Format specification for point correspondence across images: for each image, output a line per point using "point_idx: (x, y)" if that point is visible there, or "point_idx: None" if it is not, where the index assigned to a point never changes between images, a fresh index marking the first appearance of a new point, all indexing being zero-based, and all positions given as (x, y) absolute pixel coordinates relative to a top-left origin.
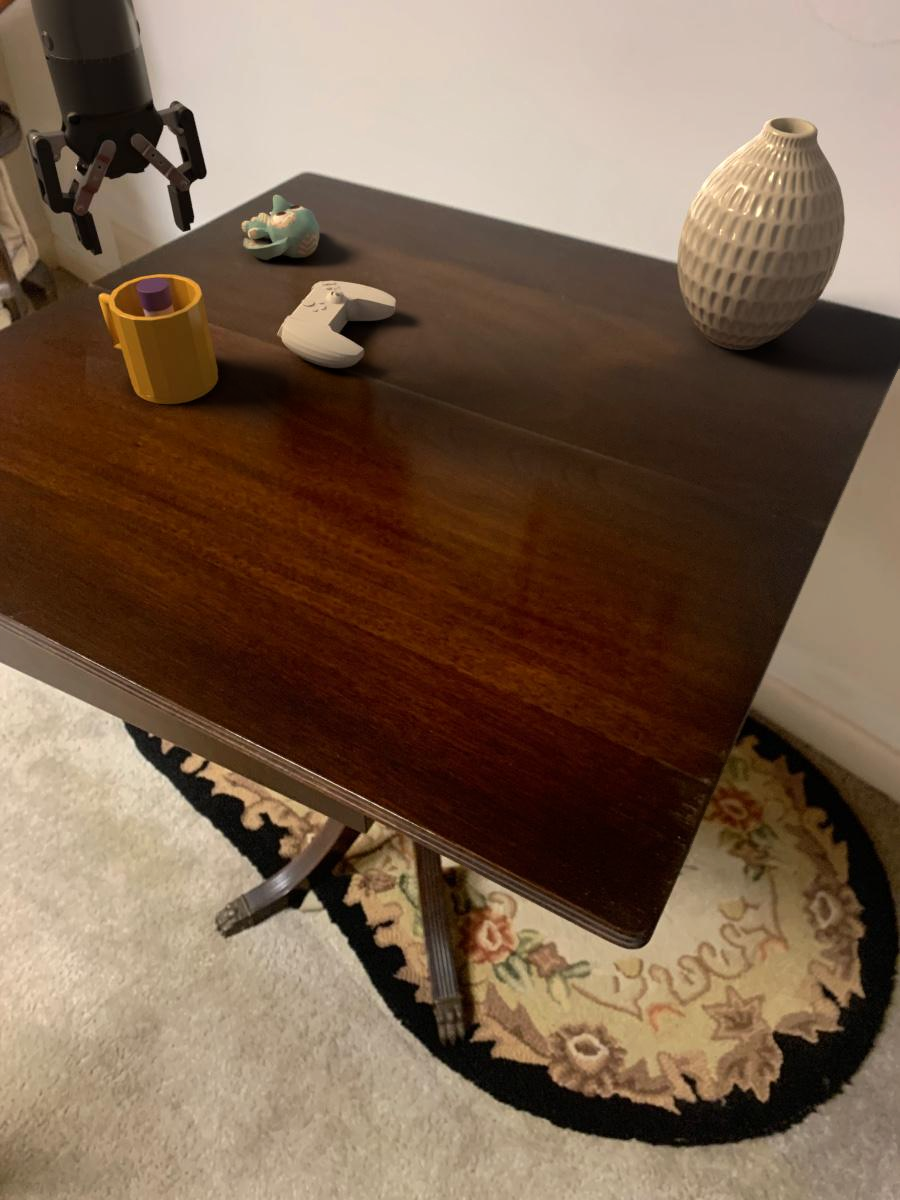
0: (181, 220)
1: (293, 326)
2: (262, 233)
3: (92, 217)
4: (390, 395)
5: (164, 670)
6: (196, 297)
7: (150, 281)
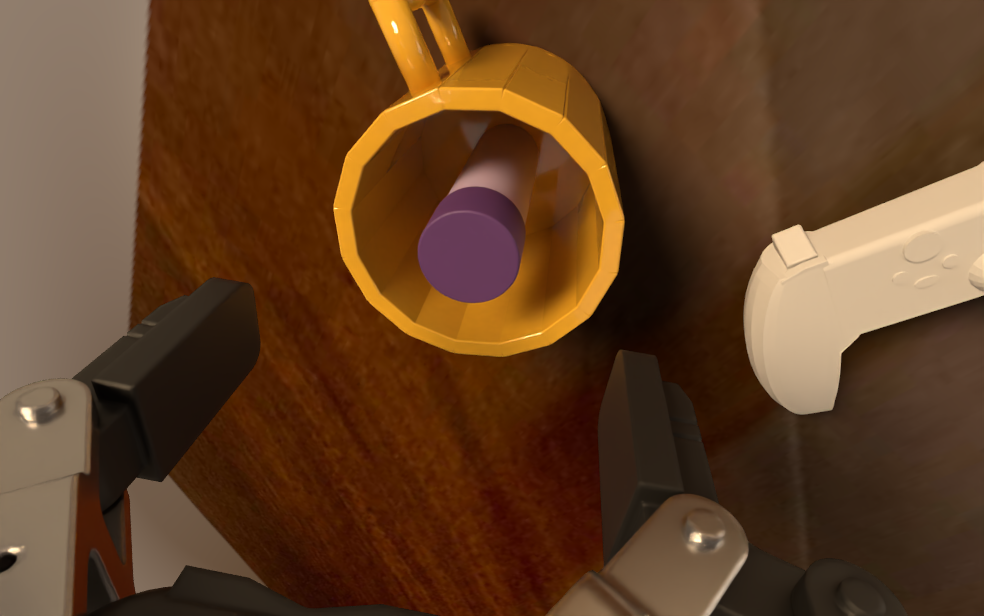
0: (600, 451)
1: (790, 302)
2: None
3: (168, 470)
4: (765, 450)
5: (251, 548)
6: (563, 325)
7: (473, 237)
